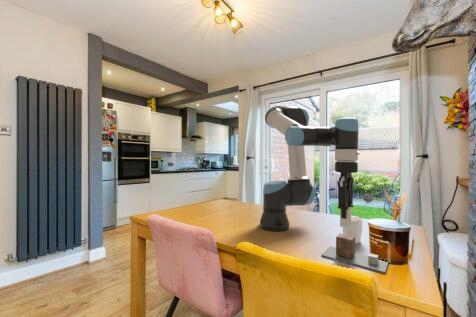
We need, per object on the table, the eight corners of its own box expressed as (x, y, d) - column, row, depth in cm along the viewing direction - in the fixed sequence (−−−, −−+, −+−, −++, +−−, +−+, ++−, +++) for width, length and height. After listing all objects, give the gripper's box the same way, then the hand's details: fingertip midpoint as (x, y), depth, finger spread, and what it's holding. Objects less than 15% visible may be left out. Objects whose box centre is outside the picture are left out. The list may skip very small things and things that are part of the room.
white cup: (361, 245, 96) (361, 221, 96) (340, 241, 100) (340, 218, 100) (362, 239, 103) (363, 217, 103) (343, 236, 107) (343, 214, 107)
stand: (321, 256, 86) (321, 248, 86) (329, 247, 94) (329, 240, 94) (385, 273, 73) (385, 264, 73) (388, 262, 81) (389, 253, 81)
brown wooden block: (335, 254, 85) (336, 236, 85) (340, 250, 89) (340, 232, 89) (351, 258, 82) (351, 240, 82) (354, 253, 86) (355, 235, 86)
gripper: (352, 162, 76) (351, 233, 77) (362, 161, 88) (361, 222, 89) (328, 161, 81) (328, 229, 81) (341, 160, 93) (340, 219, 94)
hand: (345, 225), depth 85 cm, fingers open, 3 cm apart
